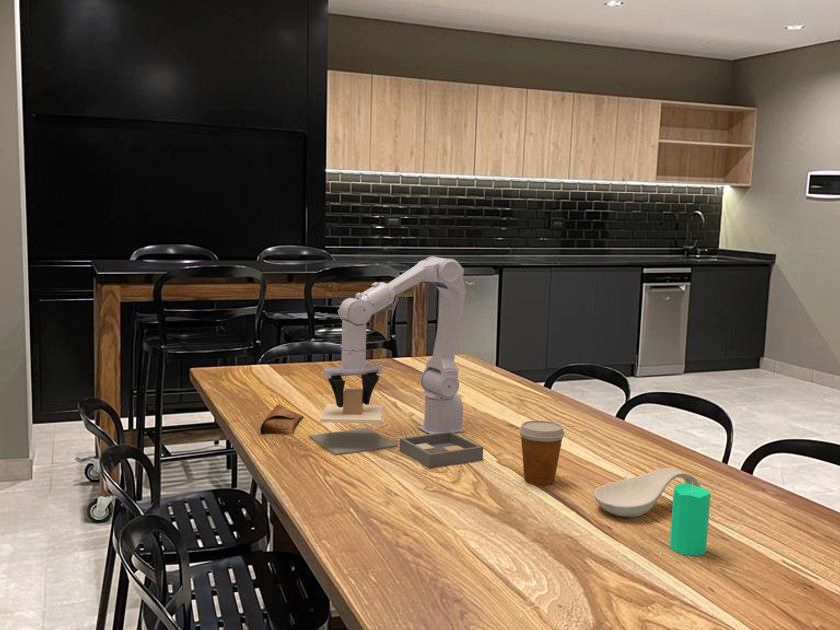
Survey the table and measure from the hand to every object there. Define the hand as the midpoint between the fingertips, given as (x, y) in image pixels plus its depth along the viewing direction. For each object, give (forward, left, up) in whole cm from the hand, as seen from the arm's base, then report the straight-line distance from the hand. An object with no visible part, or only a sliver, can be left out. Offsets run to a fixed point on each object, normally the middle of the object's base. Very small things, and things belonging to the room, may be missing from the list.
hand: (352, 405), depth 199 cm
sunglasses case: (+10, -21, -10) cm, 25 cm away
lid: (0, 0, -2) cm, 2 cm away
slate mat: (0, 0, -9) cm, 9 cm away
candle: (-26, +81, -9) cm, 86 cm away
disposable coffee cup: (-24, +42, -9) cm, 49 cm away
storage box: (-14, +18, -9) cm, 25 cm away
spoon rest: (-34, +64, -10) cm, 73 cm away
